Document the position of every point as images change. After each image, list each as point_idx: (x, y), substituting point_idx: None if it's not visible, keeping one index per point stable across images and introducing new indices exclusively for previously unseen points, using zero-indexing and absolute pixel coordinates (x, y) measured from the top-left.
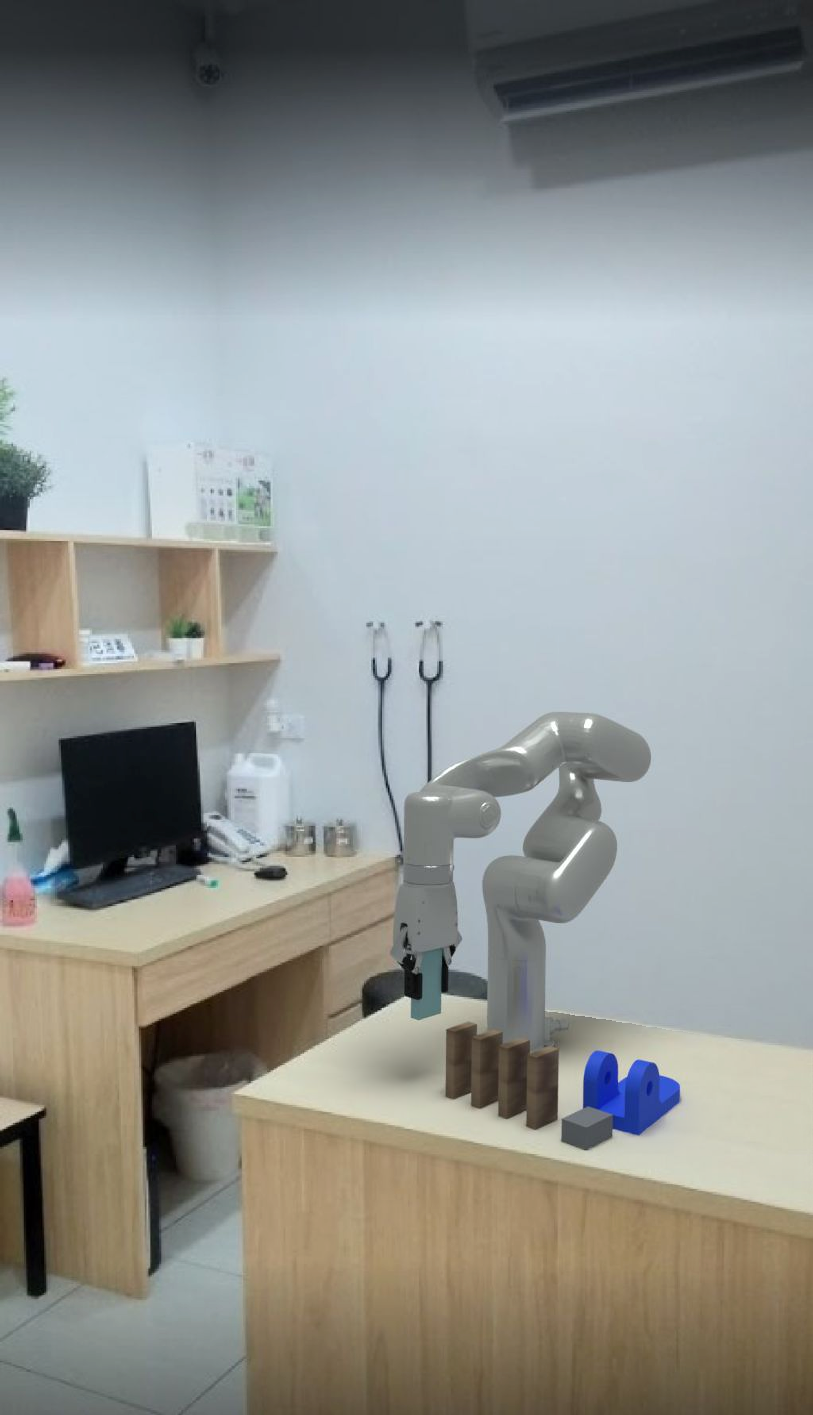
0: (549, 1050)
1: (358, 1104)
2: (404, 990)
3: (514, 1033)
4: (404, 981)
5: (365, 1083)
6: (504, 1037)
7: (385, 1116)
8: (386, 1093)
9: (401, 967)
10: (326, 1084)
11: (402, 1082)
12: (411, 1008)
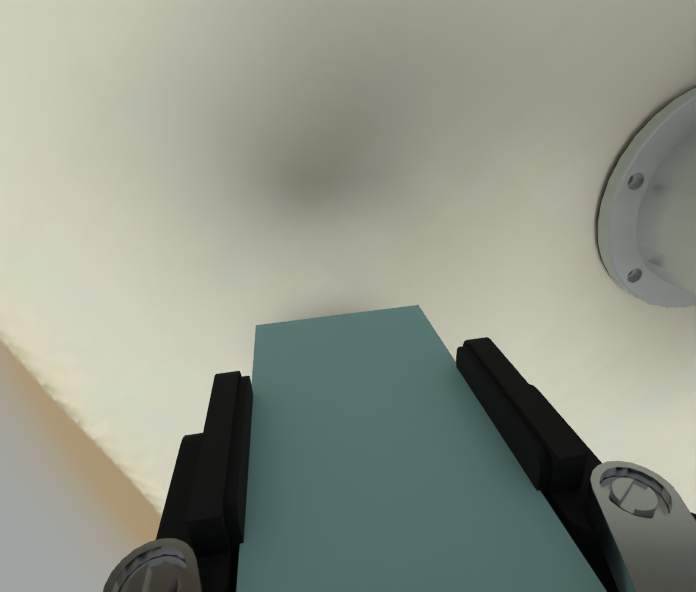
0: None
1: (36, 257)
2: (211, 392)
3: (680, 277)
4: (203, 435)
5: (145, 133)
6: (661, 246)
7: (70, 359)
8: (160, 242)
9: (107, 586)
10: (4, 41)
11: (254, 204)
12: (256, 353)
